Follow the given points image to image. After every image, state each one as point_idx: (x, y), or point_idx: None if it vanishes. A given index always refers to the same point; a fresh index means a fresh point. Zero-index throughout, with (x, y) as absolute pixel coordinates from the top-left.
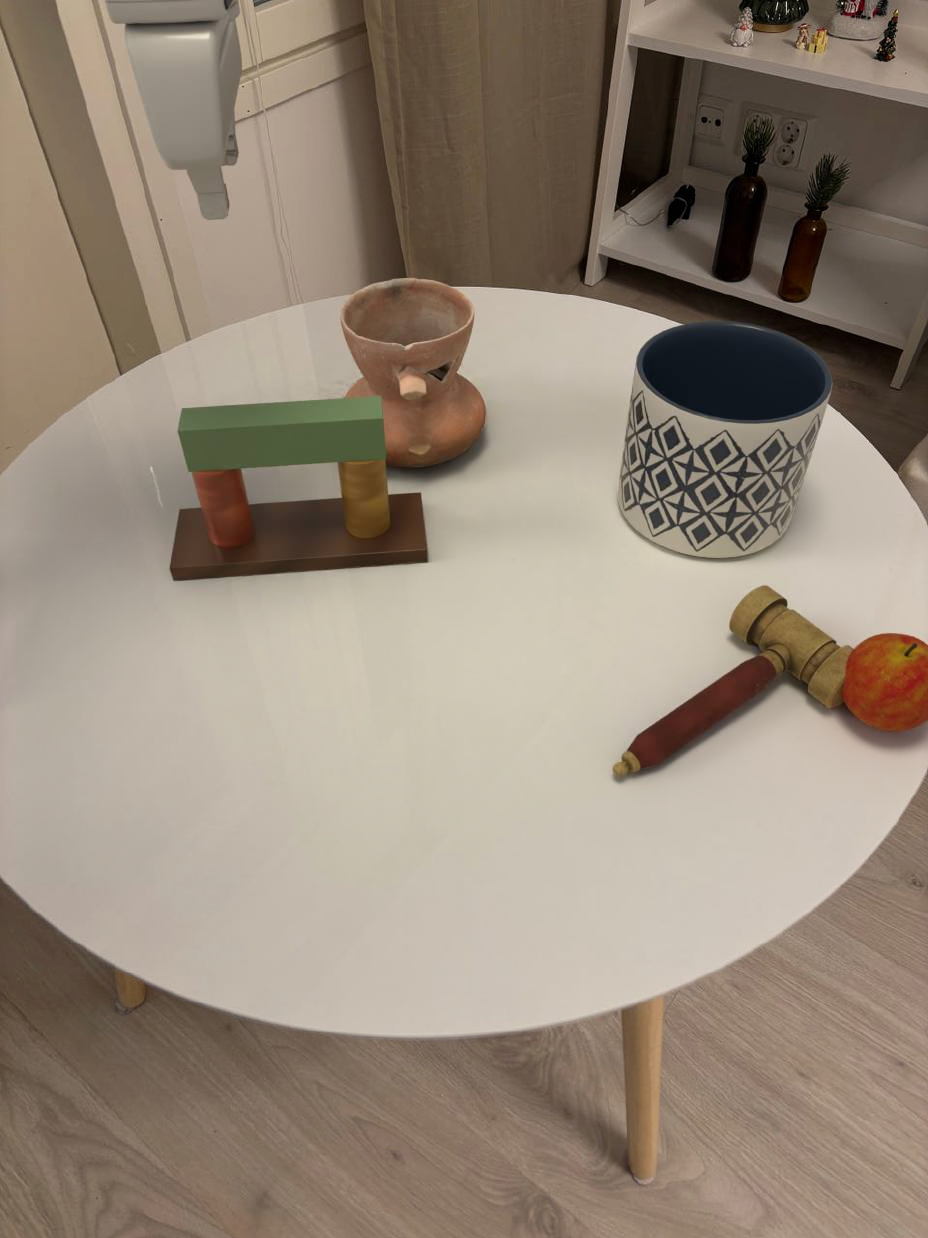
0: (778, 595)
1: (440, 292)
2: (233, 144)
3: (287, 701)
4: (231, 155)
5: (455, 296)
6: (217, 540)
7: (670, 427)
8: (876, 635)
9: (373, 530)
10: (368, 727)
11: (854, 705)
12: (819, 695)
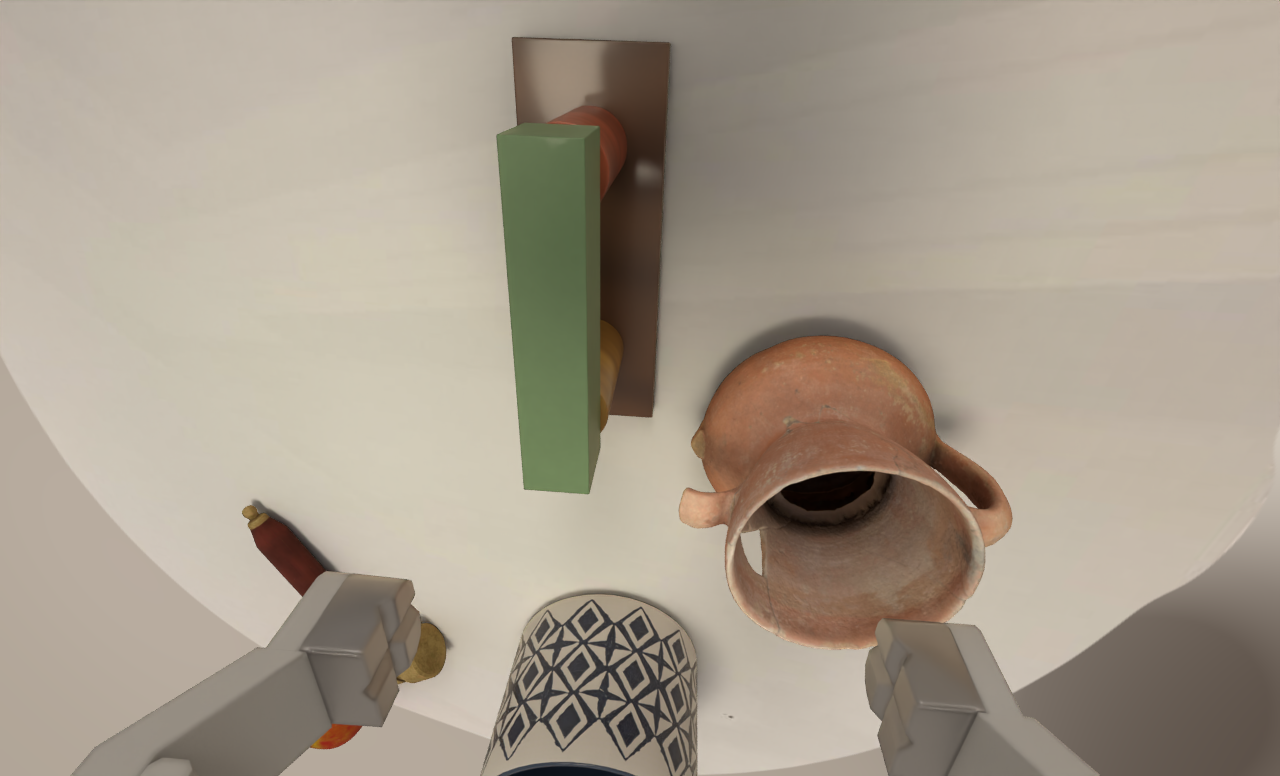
0: (413, 681)
1: (924, 612)
2: (884, 753)
3: (300, 218)
4: (875, 698)
5: None
6: None
7: (514, 741)
8: (340, 727)
9: None
10: (277, 307)
11: None
12: None
